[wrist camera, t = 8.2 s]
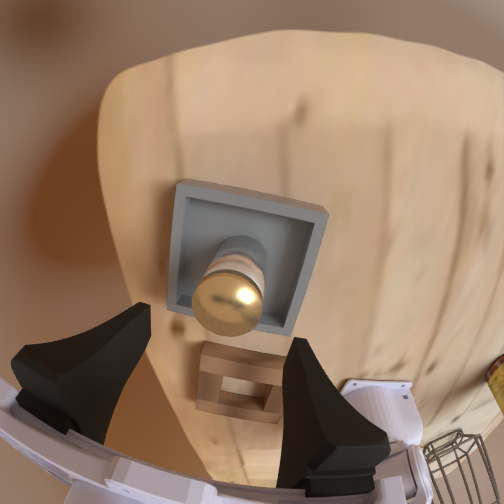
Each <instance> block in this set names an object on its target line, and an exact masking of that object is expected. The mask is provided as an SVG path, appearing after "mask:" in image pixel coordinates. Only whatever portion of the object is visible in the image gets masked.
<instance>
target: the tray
mask: <svg viewBox="0 0 504 504" xmlns="http://www.w3.org/2000/svg"><path fill="white" fill-rule="evenodd" d="M328 217H329V214H328V213H327V211H326V210H325V208H324V207H323V206H319V205H315V204H311V203H307V202H302V201H298V200H294V199H289V198H285V197H280V196H276V195H271V194H266V193H262V192H257V191H252V190H247V189H242V188H237V187H232V186H226V185H221V184H215V183H210V182H204V181H198V180H192V179H186V180H183V181H181V182H179V183H177V185H176V193H175V201H174V210H173V220H172V230H171V242H170V255H169V270H168V290H167V310H169V311H173V312H177V313H181V314H185V315H189V316H193V317H195V315H194V313H193V310H192V297H193V294H194V292H195V290H196V288H197V286H198V285H199V283H200V281H201V279H202V277H203V276H204V274H205V272H206V270H207V268H208V267H209V265H210V263H211V261H212V260H213V258H214V256H215V254H216V252H217V251H218V249H219V247H220V246H221V244H222V243H223V242H224V241H225V240H227V239H228V238H230V237H233V236H238V235H244V236H249V237H251V238H254V239H255V240H257V241H258V242H259V243H260V244H261V245H262V246H263V247H264V249H265V251H266V254H267V270H266V279H265V287H264V296H263V305H262V313H261V318H260V320H259V322H258V324H257V325H256V327H255V328H254V329H252V330H257V331H262V332H267V333H272V334H278V335H284V336H289V337H290V336H291V333H292V331H293V328H294V325H295V322H296V319H297V316H298V314H299V311H300V308H301V305H302V302H303V299H304V296H305V293H306V290H307V287H308V283H309V280H310V277H311V274H312V271H313V268H314V264H315V261H316V258H317V255H318V251H319V248H320V245H321V241H322V238H323V234H324V231H325V227H326V224H327V220H328Z"/></svg>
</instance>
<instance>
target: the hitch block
mask: <svg viewBox="0 0 504 504" xmlns="http://www.w3.org/2000/svg"><path fill="white" fill-rule="evenodd" d="M285 360H286V357H284V356H278V355H272V354H266V353H261V352H255V351H250V350H245V349H240V348H235V347H230V346H226V345H221V344H217V343H212V342H208V341H205V344H204V347H203V350H202V353H201V359H200V368H199V378H198V388H197V399H196V409H197V410H201V411H205V412H209V413H214V414H219V415H224V416H229V417H234V418H239V419H245V420H251V421H258V422H265V423H272V424H278V423H279V421H280V419H281V417H282V415H283V395H282V375H283V365H284V362H285ZM223 376H227V377H232V378H237V379H242V380H247V381H253V382H259V383H265V384H269V386H268V389H267V391H266V394H265V396H264V399H263V398H257V397H251V396H245V395H240V394H234V393H229V392H224V391H220V389H221V384H222V379H223Z"/></svg>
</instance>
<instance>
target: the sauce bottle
mask: <svg viewBox="0 0 504 504" xmlns="http://www.w3.org/2000/svg"><path fill="white" fill-rule="evenodd" d="M486 381H487V383H488V386H489V388H490V390H491V392H492V394H493V395H494V397H495V399H496V401H497V403H498V405H499V407H500V409H501V411H502V413H503V415H504V356H501V357H500V358H498V359H497V361H496V362H495V363H494V364H493V365H492V366H491V368H490V369H489V371H488V372H487V374H486Z"/></svg>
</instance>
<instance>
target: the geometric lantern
mask: <svg viewBox="0 0 504 504" xmlns="http://www.w3.org/2000/svg"><path fill="white" fill-rule="evenodd" d="M457 431H458V435H457V437H456V438H455V439H453V440H452V441H450V442H448V443H446V444H444V445H442V446H439V447H437V448H435V449H434V447H433V445H432V443H434V442H436V441H438V440H440V439H443V438H445V437H447V436H449V435H451V434H453V433H455V432H457ZM460 432H461V433H462V435H461V433H460ZM459 435H460V436H459ZM458 436H459V437H458ZM460 437H462V438H461V440H460V442H459V444H457V442H456V440H457V439H458V438H460ZM463 437H470V438H468V439H467V440H465V441H463V442H461V441H462V439H463ZM473 438H474V439H475V441H474V442H473V444H472V445H471V447H470V448H469V450H468V451H467V452H465V451H463V450H462V449H460V448H459V446H460V445H462V444H464V443H466V442H468V441H469V440H471V439H473ZM478 438H479V439H480V441H481V444H482V447H483V450H484V453H485V456H486V459H487V461H486V459H485V456H484V454H483V451H482V449H481V446H480V444H479V442H478ZM453 441H454V442H453ZM451 442H453V443H452V444H450V445H448V446H446V447H444V448H442V449H439V448H441V447H443V446H445V445H447V444H449V443H451ZM454 443H455V444H456V445H455V446H454V445H453V444H454ZM475 443H476V444H477V446H478V449H479V451H480V454H481V456H482V459H483V461H484V464H485V467H486V469H487V472H488V475H489V478H490V481H491V484H492V487H493V490H494V493H495V496H496V499H497V501H495V502H494V503H492V504H495V503H497V504H501V502H500V497H499V493H498V489H497V485H496V481H495V478H494V473H493V470H492V467H491V463H490V460H489V457H488V454H487V451H486V448H485V445H484V442H483V439H482V437H481V434H477V435H474V434H463V431H462V429H457V430H456V431H454V432H452V433H450V434H448V435H446V436H443V437H441V438H439V439H437V440H435V441H432V442H430V443H429V444H428V445H427V446H426V448H425V451H424V453H423V455H424V457H427V460H426V458H425V460H426V463H427V466H428V470H429V474H430V477H431V480H432V482H433V485H434V487H435V490H436V492H437V495H438V498H439V500H440V503H441V504H444V502H443V500H442V497H441V495H440V492H439V489H438V487H437V484H436V482H435V479H434V477H433V474H432V473H435V472H437V471H439V470H441V472H442V475H443V477H444V480H445V483H446V486H447V489H448V491H449V494H450V497H451V500H452V503H453V504H456V503H455V500H454V497H453V494H452V491H451V488H450V485H449V483H448V480H447V477H446V474H445V472H444V469H443V468H445V467H447V466H449V465H451V464H453V463H455V462H457V463H458V466H459V468H460V471H461V474H462V477H463V480H464V483H465V486H466V490H467V493H468V496H469V500H470V503H471V504H473V501H472V498H471V494H470V491H469V488H468V485H467V482H466V479H465V476H464V473H463V470H462V467H461V464H460V461H459V460H460V459H461V458H463V457H464V456H467V459H468V463H469V466H470V469H471V473H472V476H473V480H474V483H475V487H476V491H477V495H478V499H479V503H480V504H482V501H481V497H480V493H479V489H478V485H477V481H476V478H475V475H474V471H473V468H472V465H471V461H470V459H469V455H468V453H469V451H470V450H471V448H472V447H473V446H474V444H475ZM429 445H431V447H432V449H433V450H432V451H431V452H430V449H429ZM451 445H452V447H451V448H449V449H447V450H444V451H442V452H440V453H438V454H436V452H438V451H440V450H443V449H445V448H447V447H449V446H451ZM427 449H428V452H429V454H428V455H425V452H426V450H427ZM437 449H439V450H437ZM452 449H453V450H452ZM455 449H459V450H460V451H462V452H463V453H465V454H464V455H463V456H461V457H460V458H458V456H457V453H456V450H455ZM435 450H437V451H435ZM450 450H451V451H450ZM448 451H449V452H448ZM452 451H454V452H455V455H456V458H457V459H456V460H455V461H453V462H451V463H449V464H447V465H445V466H442V464H441V461H440V459H439V458H441V457H443V456H445V455H447V454H448V453H450V452H452ZM432 452H433V453H432ZM446 452H448V453H446ZM443 453H446V454H444V455H442V456H440V457H439V455H441V454H443ZM432 454H434V456H433V457H432V458H431V459H429V457H430V455H432ZM435 457H436V459H434V458H435ZM433 459H434V460H433ZM435 460H437V462H438V464H439V467H440V468H439V469H437V470H434V471H432V472H431V470H430V467H429V463H431V462H433V461H435ZM487 463H488V464H487ZM488 466H489V467H488ZM431 504H434V502H433V499H432V502H431Z"/></svg>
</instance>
